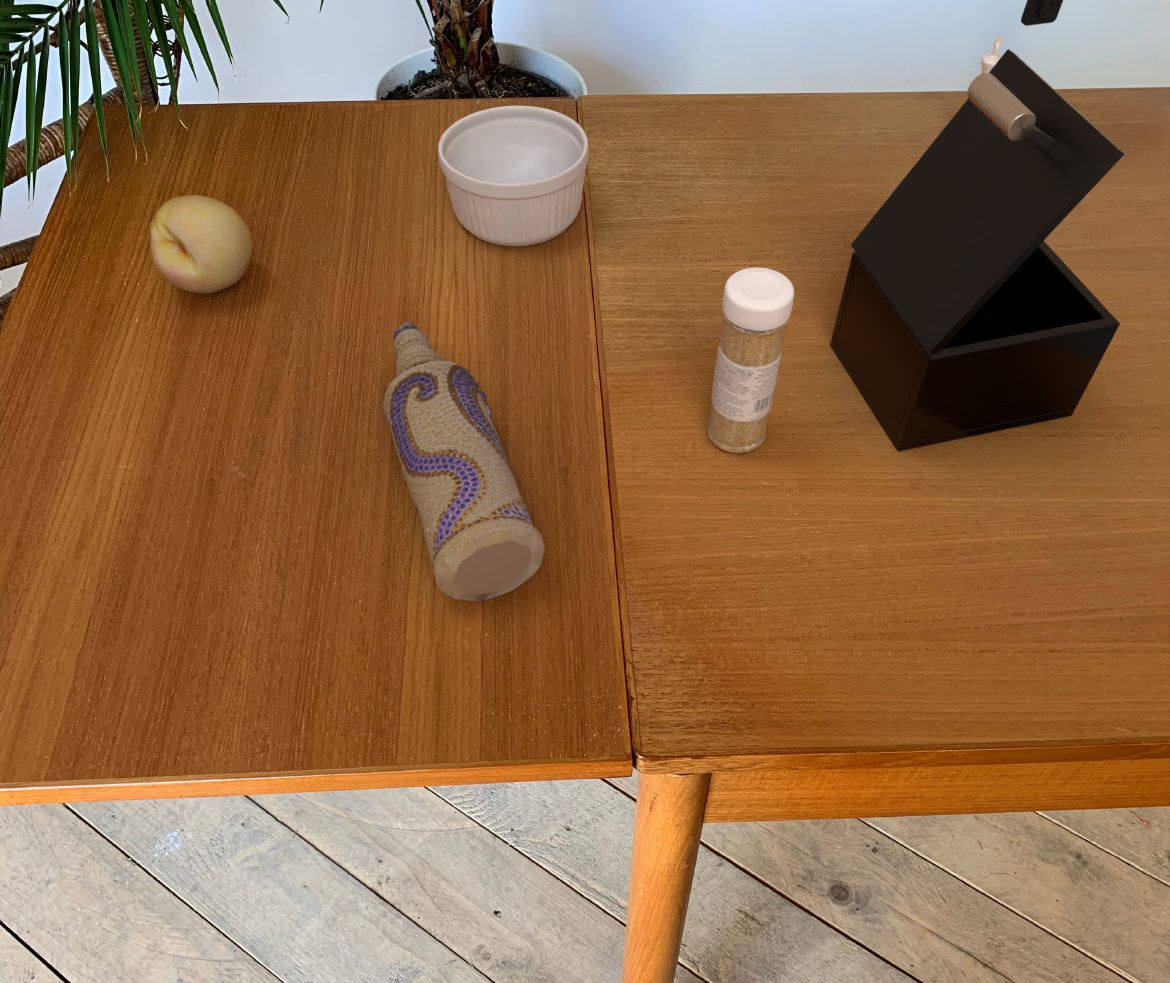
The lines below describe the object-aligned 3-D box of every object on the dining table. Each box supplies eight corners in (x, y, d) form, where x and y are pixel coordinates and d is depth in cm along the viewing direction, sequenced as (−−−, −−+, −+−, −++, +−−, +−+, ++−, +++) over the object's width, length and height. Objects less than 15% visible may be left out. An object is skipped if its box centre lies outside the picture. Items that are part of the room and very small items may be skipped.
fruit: (152, 284, 87) (117, 200, 81) (238, 247, 90) (211, 164, 84) (192, 327, 84) (160, 243, 77) (281, 287, 87) (256, 203, 81)
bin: (990, 315, 85) (1027, 222, 78) (1072, 416, 77) (1120, 323, 70) (829, 345, 82) (852, 251, 75) (897, 452, 75) (930, 359, 68)
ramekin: (423, 241, 91) (413, 170, 85) (476, 165, 99) (469, 94, 93) (563, 268, 89) (562, 196, 83) (606, 187, 96) (607, 116, 91)
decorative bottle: (552, 587, 68) (548, 522, 62) (442, 616, 66) (428, 552, 61) (460, 346, 82) (450, 277, 77) (368, 366, 81) (352, 297, 76)
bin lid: (1014, 53, 66) (968, 19, 63) (1125, 154, 59) (1078, 120, 56) (857, 248, 75) (810, 226, 72) (935, 356, 68) (887, 336, 65)
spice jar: (743, 406, 78) (768, 256, 67) (777, 442, 76) (810, 293, 65) (693, 426, 77) (711, 277, 66) (727, 464, 74) (751, 316, 64)
